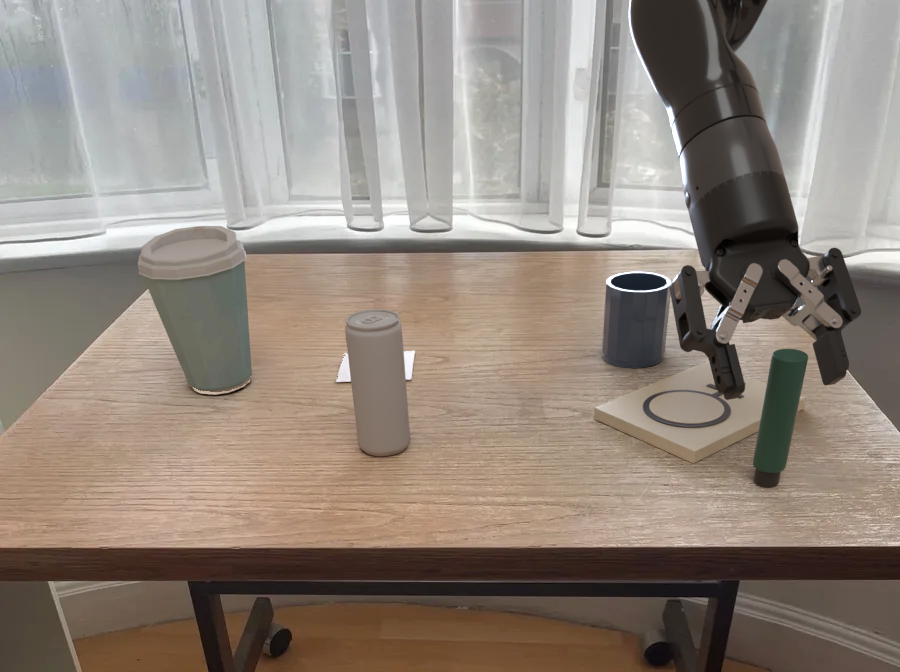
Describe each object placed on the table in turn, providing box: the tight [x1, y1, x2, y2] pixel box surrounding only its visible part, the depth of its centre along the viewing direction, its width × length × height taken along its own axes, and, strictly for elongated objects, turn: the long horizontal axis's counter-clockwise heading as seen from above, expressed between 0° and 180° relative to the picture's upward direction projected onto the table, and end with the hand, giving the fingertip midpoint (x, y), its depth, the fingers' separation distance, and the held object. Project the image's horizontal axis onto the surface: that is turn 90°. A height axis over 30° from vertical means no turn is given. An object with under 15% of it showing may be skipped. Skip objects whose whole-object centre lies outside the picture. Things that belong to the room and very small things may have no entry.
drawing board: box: [593, 361, 807, 464], centre depth 85 cm, size 16×12×1 cm
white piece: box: [335, 350, 416, 383], centre depth 98 cm, size 8×8×1 cm
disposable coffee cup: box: [137, 225, 253, 392], centre depth 91 cm, size 11×11×15 cm
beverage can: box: [344, 308, 411, 457], centre depth 79 cm, size 5×5×12 cm
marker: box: [752, 348, 809, 488], centre depth 72 cm, size 3×3×11 cm
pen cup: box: [601, 271, 672, 369], centre depth 95 cm, size 7×7×8 cm
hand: (786, 388), depth 70 cm, fingers open, 8 cm apart
